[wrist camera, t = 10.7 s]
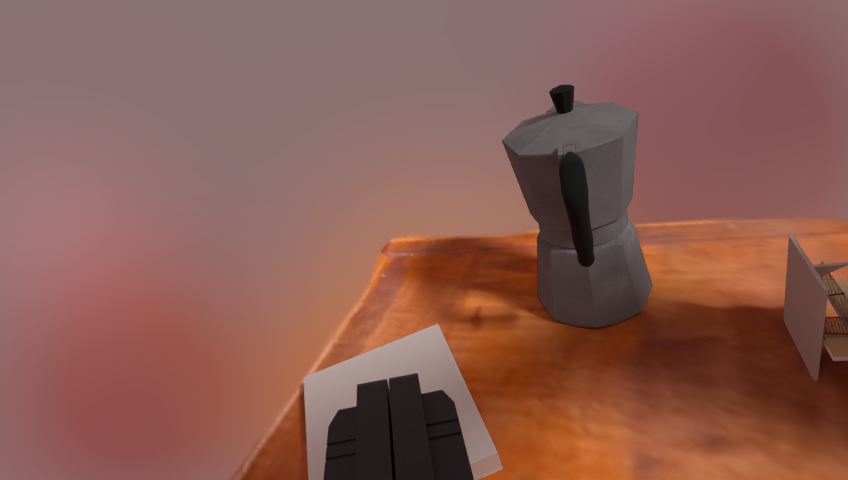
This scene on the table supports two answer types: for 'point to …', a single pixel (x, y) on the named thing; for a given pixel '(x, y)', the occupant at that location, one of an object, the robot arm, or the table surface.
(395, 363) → the tile
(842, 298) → the architectural model
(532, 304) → the table surface
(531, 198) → the coffeepot
